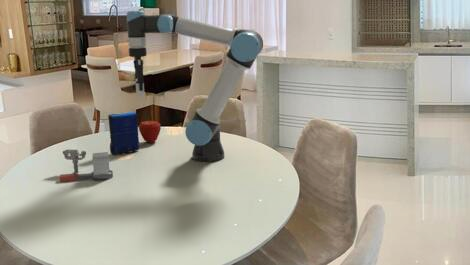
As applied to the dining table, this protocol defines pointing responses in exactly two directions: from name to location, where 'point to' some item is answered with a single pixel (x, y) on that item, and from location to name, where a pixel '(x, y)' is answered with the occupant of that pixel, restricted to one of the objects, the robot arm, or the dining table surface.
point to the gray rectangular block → (101, 163)
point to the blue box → (123, 133)
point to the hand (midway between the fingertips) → (140, 95)
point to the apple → (149, 130)
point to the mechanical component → (74, 157)
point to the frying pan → (84, 177)
